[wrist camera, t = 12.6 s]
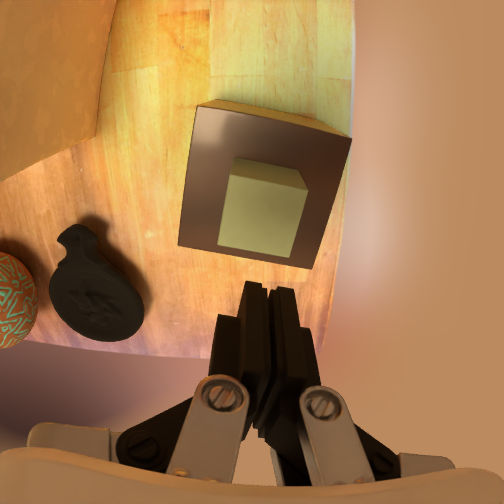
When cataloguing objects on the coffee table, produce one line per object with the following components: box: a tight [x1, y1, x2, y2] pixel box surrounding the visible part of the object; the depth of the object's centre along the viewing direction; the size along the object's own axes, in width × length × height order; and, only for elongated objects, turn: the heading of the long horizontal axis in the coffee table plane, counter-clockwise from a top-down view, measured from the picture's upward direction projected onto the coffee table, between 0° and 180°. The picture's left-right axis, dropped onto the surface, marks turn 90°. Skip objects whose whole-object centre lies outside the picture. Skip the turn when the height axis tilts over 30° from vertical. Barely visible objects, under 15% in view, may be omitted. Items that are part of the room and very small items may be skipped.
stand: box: [178, 99, 352, 269], centre depth 31 cm, size 12×12×12 cm
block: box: [217, 157, 308, 258], centre depth 23 cm, size 5×5×5 cm
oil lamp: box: [49, 224, 144, 342], centre depth 41 cm, size 15×20×5 cm
